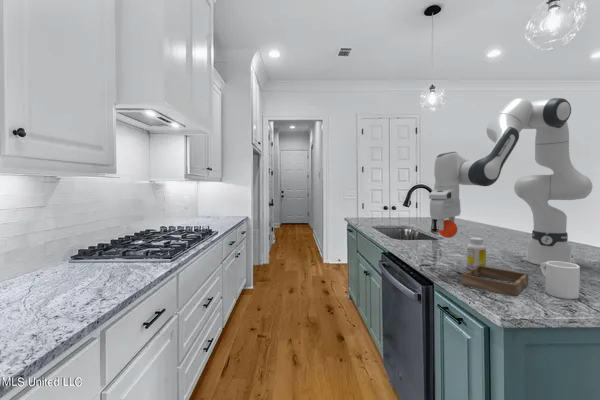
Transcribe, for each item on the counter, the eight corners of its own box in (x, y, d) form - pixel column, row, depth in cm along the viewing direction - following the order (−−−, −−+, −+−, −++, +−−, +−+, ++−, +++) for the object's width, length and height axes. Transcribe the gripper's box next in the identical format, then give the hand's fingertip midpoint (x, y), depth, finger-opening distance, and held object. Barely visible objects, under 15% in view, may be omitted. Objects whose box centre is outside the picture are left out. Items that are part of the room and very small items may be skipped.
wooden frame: (477, 274, 118) (478, 265, 118) (528, 283, 106) (528, 274, 106) (461, 284, 106) (461, 274, 106) (515, 296, 95) (515, 285, 94)
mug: (551, 285, 104) (551, 257, 103) (586, 298, 92) (587, 267, 91) (529, 286, 103) (529, 258, 103) (561, 299, 91) (562, 268, 91)
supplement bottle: (485, 268, 126) (486, 237, 125) (485, 272, 120) (486, 240, 120) (467, 266, 130) (467, 236, 129) (466, 269, 124) (466, 239, 123)
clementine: (431, 236, 121) (431, 218, 120) (445, 235, 123) (445, 218, 123) (447, 239, 113) (447, 221, 113) (461, 238, 115) (461, 220, 115)
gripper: (448, 192, 126) (448, 225, 127) (426, 194, 113) (426, 230, 113) (465, 193, 122) (464, 226, 122) (444, 194, 108) (443, 232, 109)
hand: (446, 228), depth 118 cm, fingers closed on clementine, 7 cm apart
